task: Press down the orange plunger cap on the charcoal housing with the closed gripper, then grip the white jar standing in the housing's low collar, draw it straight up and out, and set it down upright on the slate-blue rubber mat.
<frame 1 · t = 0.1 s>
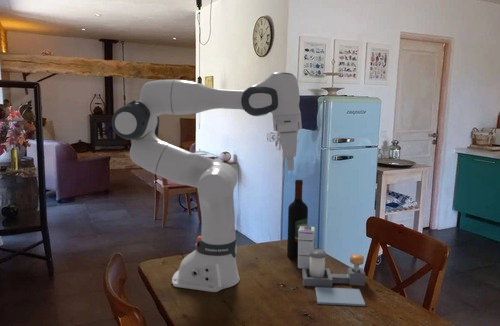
hand: (290, 167, 133), 39 cm above the table, tool pointing down, fingers open, 8 cm apart
housing: (316, 280, 141), on the table
syrup box: (305, 266, 153), on the table
wine bottle: (296, 256, 163), on the table
plunger: (356, 265, 139), point 6 cm above the table, slide at 0.0 cm
white jar: (316, 280, 141), resting in housing
mat: (339, 297, 129), on the table
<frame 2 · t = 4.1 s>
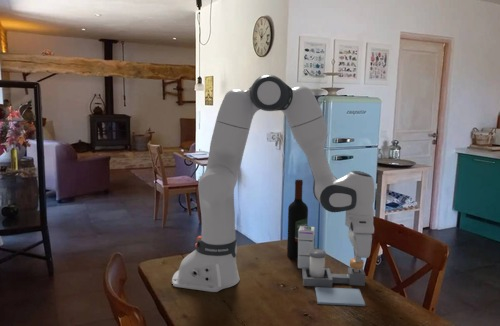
hand: (357, 260, 139), 8 cm above the table, tool pointing down, fingers closed, pressing on plunger
plunger: (356, 269, 139), point 4 cm above the table, slide at 1.5 cm, touching gripper
everything else where it was.
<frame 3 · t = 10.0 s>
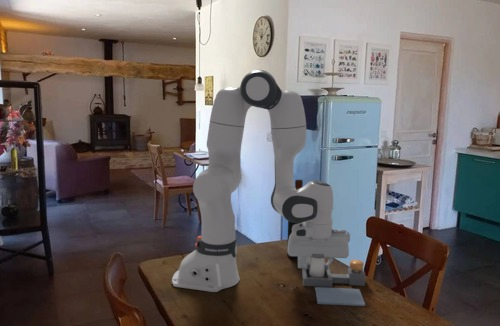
hand: (317, 268, 140), 4 cm above the table, tool pointing down, fingers closed on white jar, 5 cm apart
plunger: (356, 271, 139), point 4 cm above the table, slide at 2.0 cm
white jar: (316, 280, 141), resting in housing, touching gripper
everything else where it was.
when the fingers open (6 cm above the table, at t = 19.5 s): white jar drops 1 cm, resting on mat.
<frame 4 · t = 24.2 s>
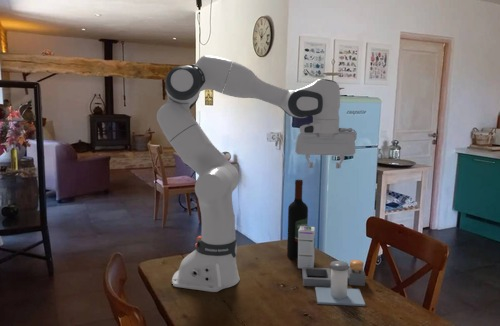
hand: (324, 167, 144), 37 cm above the table, tool pointing down, fingers open, 8 cm apart
white jar: (338, 295, 129), point 1 cm above the table, touching mat
everything else where it was.
at the end: plunger slide at 2.0 cm; white jar inside the target area on the mat (0.1 cm from its centre), point 0.7 cm above the mat's base; white jar tilted 1° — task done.
